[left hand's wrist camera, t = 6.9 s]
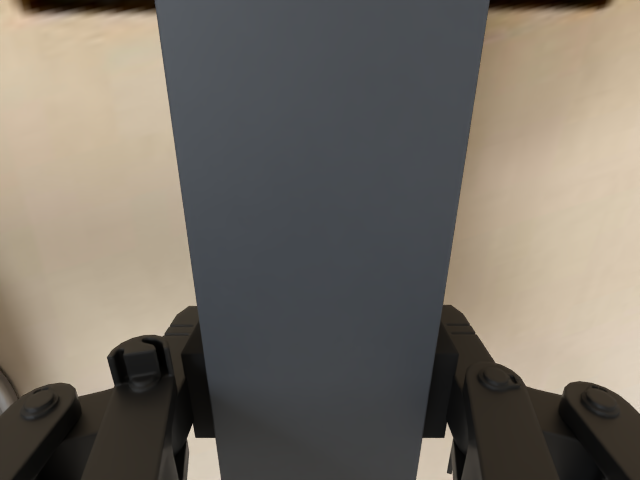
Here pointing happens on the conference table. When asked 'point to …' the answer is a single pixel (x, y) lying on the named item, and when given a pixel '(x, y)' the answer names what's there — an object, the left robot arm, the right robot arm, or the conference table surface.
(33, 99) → the conference table surface
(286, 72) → the beam
